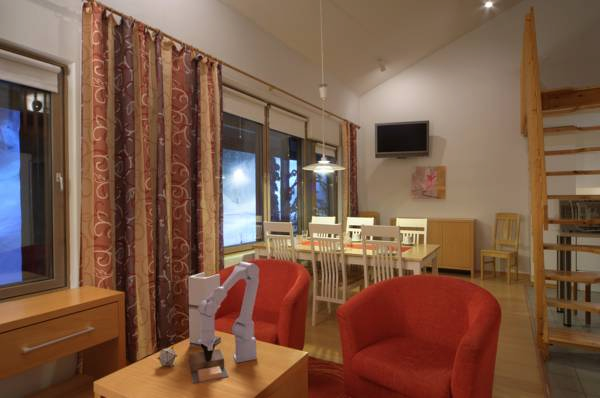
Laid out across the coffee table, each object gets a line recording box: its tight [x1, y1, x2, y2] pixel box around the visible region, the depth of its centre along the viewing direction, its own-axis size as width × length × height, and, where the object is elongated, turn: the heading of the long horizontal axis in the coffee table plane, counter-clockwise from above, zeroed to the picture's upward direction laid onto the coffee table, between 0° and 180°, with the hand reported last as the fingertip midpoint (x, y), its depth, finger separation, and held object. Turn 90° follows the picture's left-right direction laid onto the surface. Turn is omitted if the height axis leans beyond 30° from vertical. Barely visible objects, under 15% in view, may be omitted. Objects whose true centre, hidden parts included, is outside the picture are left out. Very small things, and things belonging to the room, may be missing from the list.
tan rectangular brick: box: [198, 366, 222, 381], centre depth 154 cm, size 9×6×2 cm, turn 112°
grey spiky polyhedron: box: [156, 346, 178, 369], centre depth 164 cm, size 9×8×10 cm
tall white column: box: [187, 271, 222, 350], centre depth 188 cm, size 11×11×35 cm
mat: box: [190, 366, 229, 385], centre depth 155 cm, size 14×9×1 cm, turn 112°
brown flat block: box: [188, 348, 225, 374], centre depth 164 cm, size 14×11×4 cm
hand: (208, 360), depth 158 cm, fingers closed
